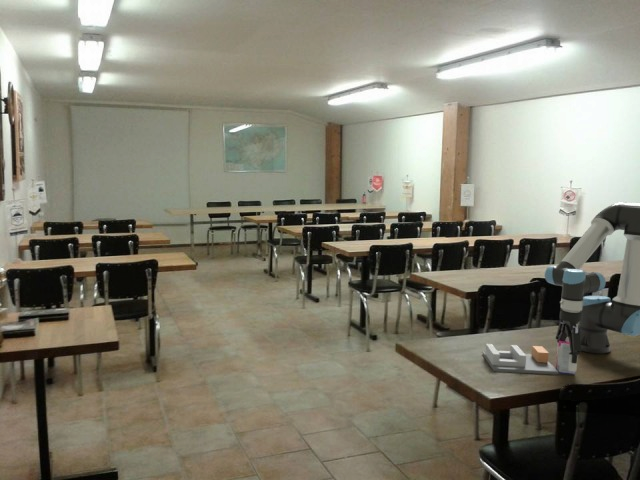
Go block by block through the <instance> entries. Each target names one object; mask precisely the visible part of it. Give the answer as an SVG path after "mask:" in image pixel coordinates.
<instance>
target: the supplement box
mask: <svg viewBox="0 0 640 480" xmlns="http://www.w3.org/2000/svg"><path fill="white" fill-rule="evenodd" d="M570 352H571V350H570V344H569V340H568V341H567V340H565V341H559V346H558V355H557V354H556V357H557V359H556V363H555V364H556V365H555V369H556V370H557V371H558V375H559V374H560V375H570V376H575V375H576V371H568V366H569V356H570V354H569V353H570Z"/></svg>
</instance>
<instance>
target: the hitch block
mask: <svg viewBox="0 0 640 480" xmlns="http://www.w3.org/2000/svg"><path fill="white" fill-rule="evenodd" d="M482 356H483V357H484V359H485V360H486V362H487V363H488V365H489V366H490V367H491V369H492V370H493V372H499V373H500V372H501V373H502V372H503V373H519V374H520V373H522V374H539V375H540V374H542V375H559V372H558V371H557V369H556V367H555V366H554V365H553V364H552V363H551V362H550V361H549V360H548V363H544V362H537V361H536V360H535V359H534V358H533V357H532V355H531V353H524V351H523V350H522V349H521V348H520V347H519V346H518V345H517V344H510V349H509V350H497V348H496V347H495V346H494V345H493V344H492V343H486V344H485V351H482Z"/></svg>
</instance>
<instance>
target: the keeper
mask: <svg viewBox="0 0 640 480" xmlns="http://www.w3.org/2000/svg"><path fill="white" fill-rule="evenodd" d="M549 353H550V352H549V351H548V350H547V349H546V348H544V346H542V345H541V346H539V345H531V353H530V354H531V355H532V357H533V358H534V359H535V360H536V361H537V362H544V363H548V361H549V357H550V355H549Z"/></svg>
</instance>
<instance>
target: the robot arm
mask: <svg viewBox="0 0 640 480" xmlns="http://www.w3.org/2000/svg"><path fill="white" fill-rule="evenodd" d="M619 230H621V231H623V235H624V237H625V239H626V243H625V248H624V253H623V254H624V255H623V259H622V266H621V272H620V278H619V284H618V289H617V294H616V296H614V297H613V298H612V300H611V297H609V296H605V295H602V296H601V295H586V296H585V295H584V294H590V293H597V292H600V291H603V290H604V289H605V287H606V283H607V280H606V278H605V277H604V274H602V273H600V272H594V271H593V272H587V271H584V270H583V269H582V267H583V266H584V265H585V264H586V262H587V261H588V260H589V258H591V256H592V255H593V254H594V252H596V251H597V249H598V248H599V246H600V245H601V244H602V243H603V241H604V240H606V238H607V237H608V236H611V235H612V234H613V233H614V232H615V231H619ZM544 279H545V281H546V282H547V283H548V284H551V285H554V286H559V287H561V289H562V290H561V299H560V301H559V304H560V310H559V323H558V327H557V330H556V331H557V332H556V334H555V340H556V343H557V346H556V347H557V348H556V356H555V357H556V358H555V359H556V360H557V355H558V346H559V341H567V338H568V342H569V344H570V350H571V352H570V353H569V354H570V356H569V366H568V371H575V372H577V369H578V367H577V366H578V356H582V352H586V353H590V354H591V353H593V354H607V353H610V351H611V343H610V338H609V335H608V330H609V331H611V332H615V333H619V334H622V335H624V336H629V337H636V336H639V335H640V202H639V203H637V202H627V201H623V202H622V201H620V202H617V203H613V204H611V205H609V206H607V207H605V208H603V209H602V210H601V211H600V212H598V213H597V214H596V215H595V216H594V217H593V219H592V220H591V222H590V226H589V227H588V228H587V230H586V231H585V232H584V233H583V234H582V235H581V236H580V238H579V239H578V241H576V243H575V244H574V245H573V247H572V248H571V249H570V250H569V251H568V252H567V253H566V255H565V256H564V257H563V258H562V260H561V261H560V262H559V263H558V264H557V265H549V266H548V267H547V268H546V269H545V272H544Z"/></svg>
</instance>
